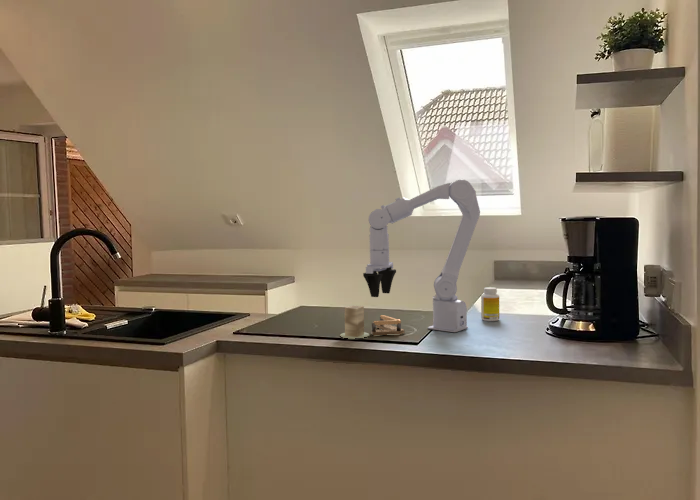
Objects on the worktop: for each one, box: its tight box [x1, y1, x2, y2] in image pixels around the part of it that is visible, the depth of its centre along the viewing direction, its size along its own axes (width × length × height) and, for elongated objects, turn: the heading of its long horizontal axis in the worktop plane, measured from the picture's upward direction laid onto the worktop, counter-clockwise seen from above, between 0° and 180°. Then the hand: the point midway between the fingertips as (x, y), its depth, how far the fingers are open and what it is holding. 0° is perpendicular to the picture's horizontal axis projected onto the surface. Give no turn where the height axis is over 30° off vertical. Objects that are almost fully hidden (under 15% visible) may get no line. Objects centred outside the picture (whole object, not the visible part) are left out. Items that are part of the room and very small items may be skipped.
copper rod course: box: [370, 314, 405, 336], centre depth 170 cm, size 12×12×4 cm
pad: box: [339, 331, 370, 340], centre depth 166 cm, size 8×8×1 cm
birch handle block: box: [344, 305, 365, 337], centre depth 166 cm, size 4×4×8 cm
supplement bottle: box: [480, 286, 500, 322], centre depth 185 cm, size 6×6×10 cm
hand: (380, 295), depth 175 cm, fingers open, 7 cm apart
